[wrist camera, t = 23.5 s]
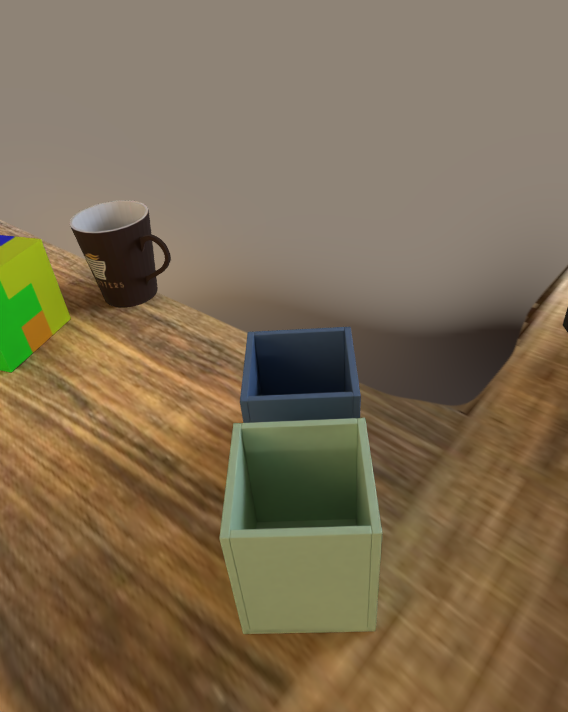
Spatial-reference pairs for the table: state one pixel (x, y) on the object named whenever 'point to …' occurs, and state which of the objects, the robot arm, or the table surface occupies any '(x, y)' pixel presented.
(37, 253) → the puzzle toy
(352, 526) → the green basket
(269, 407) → the blue basket
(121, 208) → the coffee mug
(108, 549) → the table surface
